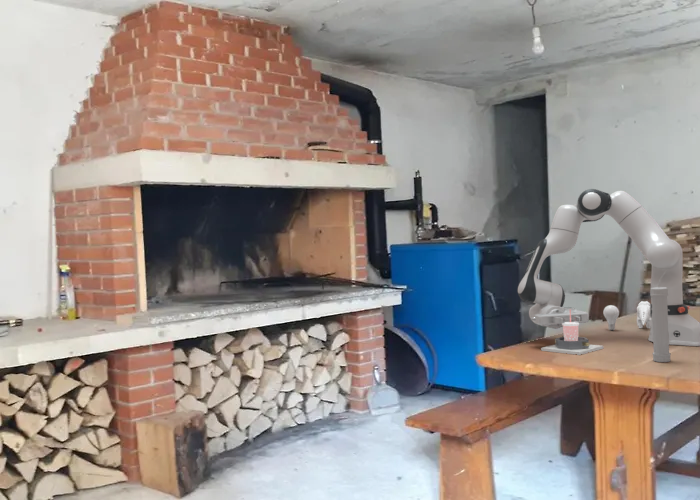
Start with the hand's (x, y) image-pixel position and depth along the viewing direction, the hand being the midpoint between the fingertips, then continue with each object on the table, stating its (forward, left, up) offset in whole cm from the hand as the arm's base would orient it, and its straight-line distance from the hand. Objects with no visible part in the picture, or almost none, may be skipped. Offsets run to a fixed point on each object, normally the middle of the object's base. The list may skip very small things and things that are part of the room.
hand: (570, 320), depth 252 cm
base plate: (+1, -1, -11) cm, 11 cm away
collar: (+1, -1, -11) cm, 11 cm away
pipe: (-34, +1, -11) cm, 36 cm away
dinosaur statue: (+4, -62, -11) cm, 63 cm away
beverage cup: (+1, -1, -10) cm, 10 cm away
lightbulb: (+12, -49, -11) cm, 51 cm away
